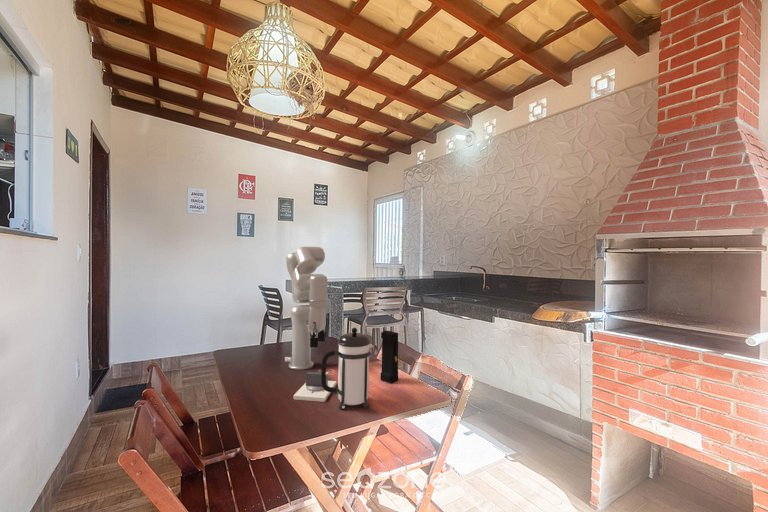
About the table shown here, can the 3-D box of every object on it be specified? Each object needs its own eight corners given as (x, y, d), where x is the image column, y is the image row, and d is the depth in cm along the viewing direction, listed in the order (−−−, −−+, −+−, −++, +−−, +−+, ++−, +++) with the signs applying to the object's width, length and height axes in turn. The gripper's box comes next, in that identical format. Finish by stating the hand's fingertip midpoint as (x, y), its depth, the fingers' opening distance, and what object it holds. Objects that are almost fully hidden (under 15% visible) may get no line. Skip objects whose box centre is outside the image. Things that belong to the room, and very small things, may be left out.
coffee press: (351, 391, 146) (352, 321, 146) (379, 402, 136) (380, 327, 136) (319, 405, 133) (320, 328, 132) (348, 418, 123) (350, 335, 122)
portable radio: (400, 381, 159) (401, 327, 159) (392, 384, 155) (393, 329, 154) (388, 376, 164) (389, 325, 164) (379, 379, 160) (380, 326, 160)
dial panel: (293, 399, 137) (293, 395, 137) (308, 382, 155) (308, 378, 155) (324, 401, 136) (324, 397, 136) (336, 384, 153) (336, 380, 153)
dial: (303, 390, 142) (303, 375, 142) (310, 382, 151) (310, 368, 151) (323, 391, 141) (324, 377, 141) (329, 383, 150) (330, 369, 150)
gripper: (316, 301, 155) (315, 338, 155) (302, 307, 138) (301, 349, 138) (332, 301, 154) (331, 339, 154) (320, 307, 137) (319, 350, 137)
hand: (317, 344), depth 146 cm, fingers open, 9 cm apart
